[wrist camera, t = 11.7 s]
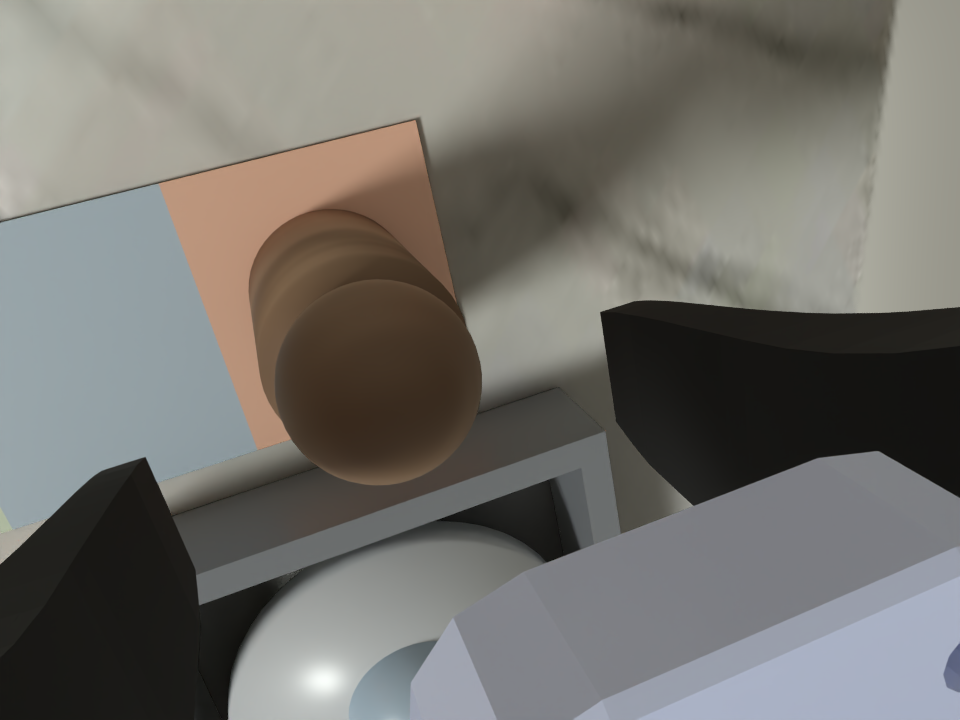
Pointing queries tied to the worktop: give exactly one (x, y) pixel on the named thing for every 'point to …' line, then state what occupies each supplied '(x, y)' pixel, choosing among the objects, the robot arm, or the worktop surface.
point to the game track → (169, 312)
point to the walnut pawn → (361, 349)
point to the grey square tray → (405, 501)
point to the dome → (367, 623)
